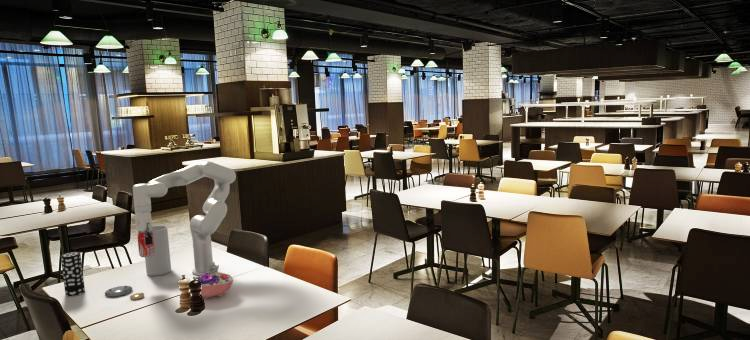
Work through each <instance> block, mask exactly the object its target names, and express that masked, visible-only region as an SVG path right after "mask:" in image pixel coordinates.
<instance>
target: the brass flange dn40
mask: <svg viewBox="0 0 750 340" xmlns="http://www.w3.org/2000/svg"><path fill="white" fill-rule="evenodd" d="M129 298H130V300H131V301H138V300H141V299H143V298H145V293H143V292H137V293H133V294H131V295H130V296H129Z"/></svg>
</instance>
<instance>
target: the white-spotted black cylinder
mask: <svg viewBox="0 0 750 340" xmlns="http://www.w3.org/2000/svg"><path fill="white" fill-rule="evenodd" d="M60 263H61V271H62V279H63V286H64V293H65V294H64V295H65V296H66V297H76V296H79V295H82V294H84V293H86V289H85V280H84V279H85V278H84V271H83V264H82V257H81V252H80V251H73V252H72V251H70V252H66V253H63V254H61V255H60Z"/></svg>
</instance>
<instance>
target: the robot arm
mask: <svg viewBox="0 0 750 340" xmlns="http://www.w3.org/2000/svg"><path fill="white" fill-rule="evenodd" d="M205 177H206V178H209V179H211V180H214V181H213V182H214V187H213V189H212V191H211V193H210V194H209V195H208V197H207V199H206V200H205V202H204V203H203V206H202V212H203V213H205V215H203V214H196V215H194V216H193V217H192V218H191V219H190V221H189V229H190V233H191V234H190V235H191V238H192V248H193V261H194V268H193V269H192V270H191V271H192V273H191V274H193V275H195V276H201V275H202V274H203V273H208V274H214V273H215V272H216V271H218V270H219V268H220V265H219V264H216V262H215V261H214V260H213V247H212V246H213V245H212V237H211V235H213V234H214V233H215V232H216V230H217V229H218V228H219V226H221V223H222V222H223V220H224V218H225V217H226V215H227V212H228V205H227V204H226V202H225V201H226V199H227V198H228V196H229V194H230V188H231V187H230V184H233V182H235V181H236V179H237V174H236V172H235V171H234V170H233V169H232V168H229V167H226V166H224V165H220V164H218V163H216V162H213V161H209V160H199V161H198V162H194V163H193V164H190V165H187V166H185V167H184V168H181V169H179V170H178V169H177V170H176V171H172V172H170V173H169V172H168V173H166V174H163V175H161V176H158V177H156V178H153V179H152V180H149V181H148V182H147V183H137V184H134V185H133V186H132V193H133V197H132V198H133V205H134V206H133V207H134V213H135V216H134V218H135V219H134V223H135V227H134V228H135V231H137V232H138V231H140V232H145V236H146V237H145V243H146V245H149V244H152V243H153V242H152V231H153V230H152V226H153V220H152V214H151V212H152V201H151V198H161V197H164V196H165V195H166V194H167V193H168V189H169V188H173V187H180V186H187V185H189V184H191V183H193V182H195V181H198V180H200V179H201V178H202V179H203V178H205ZM146 230H147V231H146ZM147 232H148V233H147Z"/></svg>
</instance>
